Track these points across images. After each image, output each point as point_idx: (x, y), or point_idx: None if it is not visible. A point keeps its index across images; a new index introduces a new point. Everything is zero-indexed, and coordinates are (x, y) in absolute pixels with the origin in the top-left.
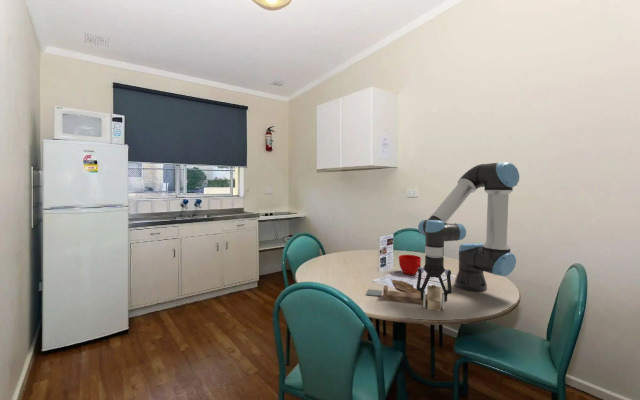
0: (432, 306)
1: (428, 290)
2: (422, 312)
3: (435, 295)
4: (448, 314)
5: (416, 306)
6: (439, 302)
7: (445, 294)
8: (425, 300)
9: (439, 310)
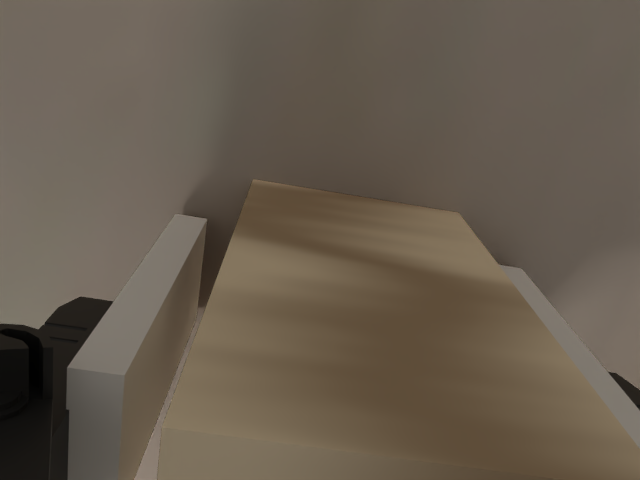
0: (392, 222)
1: (631, 455)
2: (603, 72)
3: (357, 327)
4: (135, 40)
5: (613, 314)
6: (254, 237)
7: (25, 346)
8: None
9: (266, 183)
